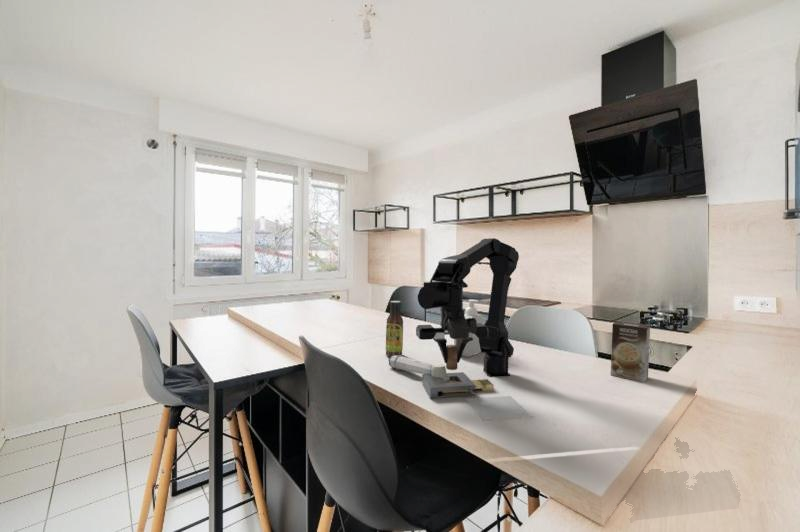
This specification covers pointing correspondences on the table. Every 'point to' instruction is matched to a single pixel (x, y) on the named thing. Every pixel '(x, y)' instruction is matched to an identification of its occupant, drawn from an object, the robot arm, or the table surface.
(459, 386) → the grey block with slider
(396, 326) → the sauce bottle
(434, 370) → the white long cylinder
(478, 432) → the table surface
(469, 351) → the soap bottle
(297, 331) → the table surface
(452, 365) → the walnut peg
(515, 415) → the grey mat
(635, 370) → the coffee box
